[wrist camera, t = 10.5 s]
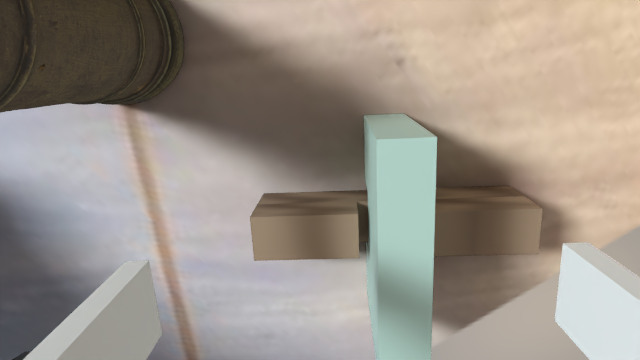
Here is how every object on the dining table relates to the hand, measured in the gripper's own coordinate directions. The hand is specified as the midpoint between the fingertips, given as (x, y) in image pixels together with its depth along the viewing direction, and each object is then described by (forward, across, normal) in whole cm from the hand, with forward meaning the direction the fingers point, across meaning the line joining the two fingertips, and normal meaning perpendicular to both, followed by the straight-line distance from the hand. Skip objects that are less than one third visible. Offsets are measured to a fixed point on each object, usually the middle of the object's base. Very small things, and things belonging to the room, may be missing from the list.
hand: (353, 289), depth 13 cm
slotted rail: (+17, +3, -4) cm, 18 cm away
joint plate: (+17, +3, -4) cm, 18 cm away
